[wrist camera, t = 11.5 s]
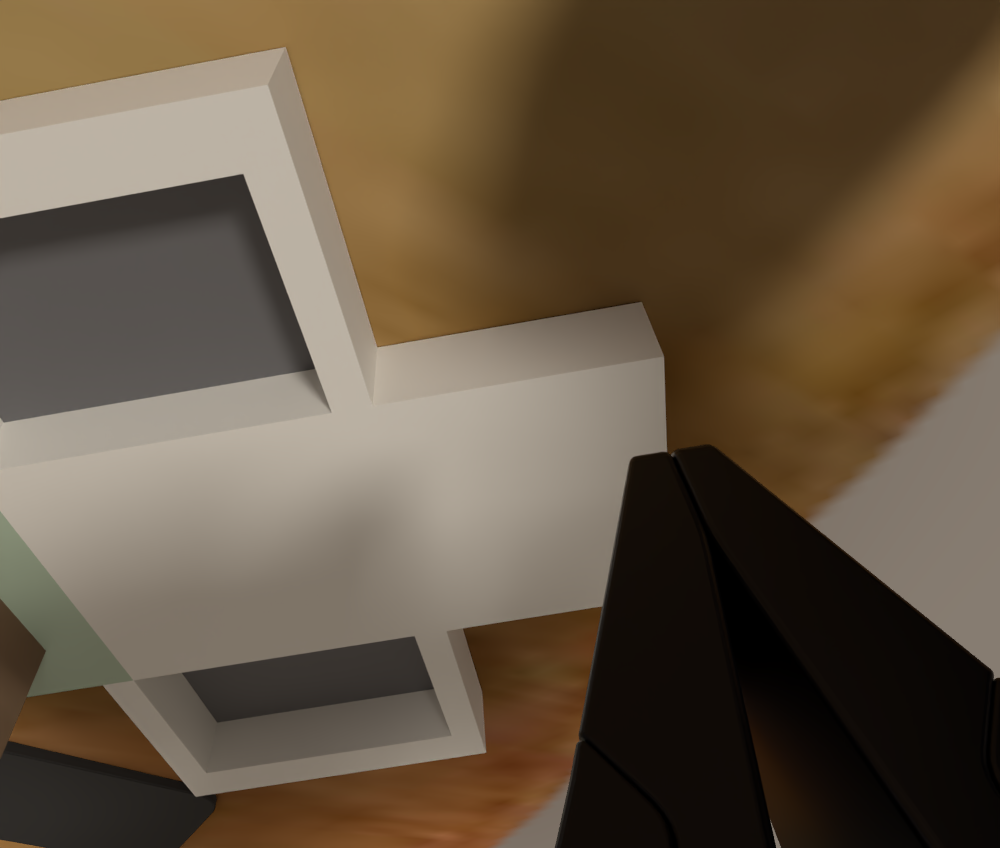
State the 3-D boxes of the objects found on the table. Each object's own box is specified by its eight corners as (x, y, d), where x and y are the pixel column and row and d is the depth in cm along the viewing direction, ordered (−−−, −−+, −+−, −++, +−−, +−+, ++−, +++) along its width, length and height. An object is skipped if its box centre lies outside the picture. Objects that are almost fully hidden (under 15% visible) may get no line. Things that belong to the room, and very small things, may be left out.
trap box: (626, -18, 16) (653, 12, 14) (659, 665, 31) (675, 724, 30) (-539, 202, 17) (-659, 258, 15) (39, 761, 32) (15, 824, 31)
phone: (160, 868, 38) (-215, 802, 32) (164, 850, 39) (-203, 782, 33) (225, 800, 35) (-182, 710, 29) (228, 781, 36) (-169, 689, 29)
